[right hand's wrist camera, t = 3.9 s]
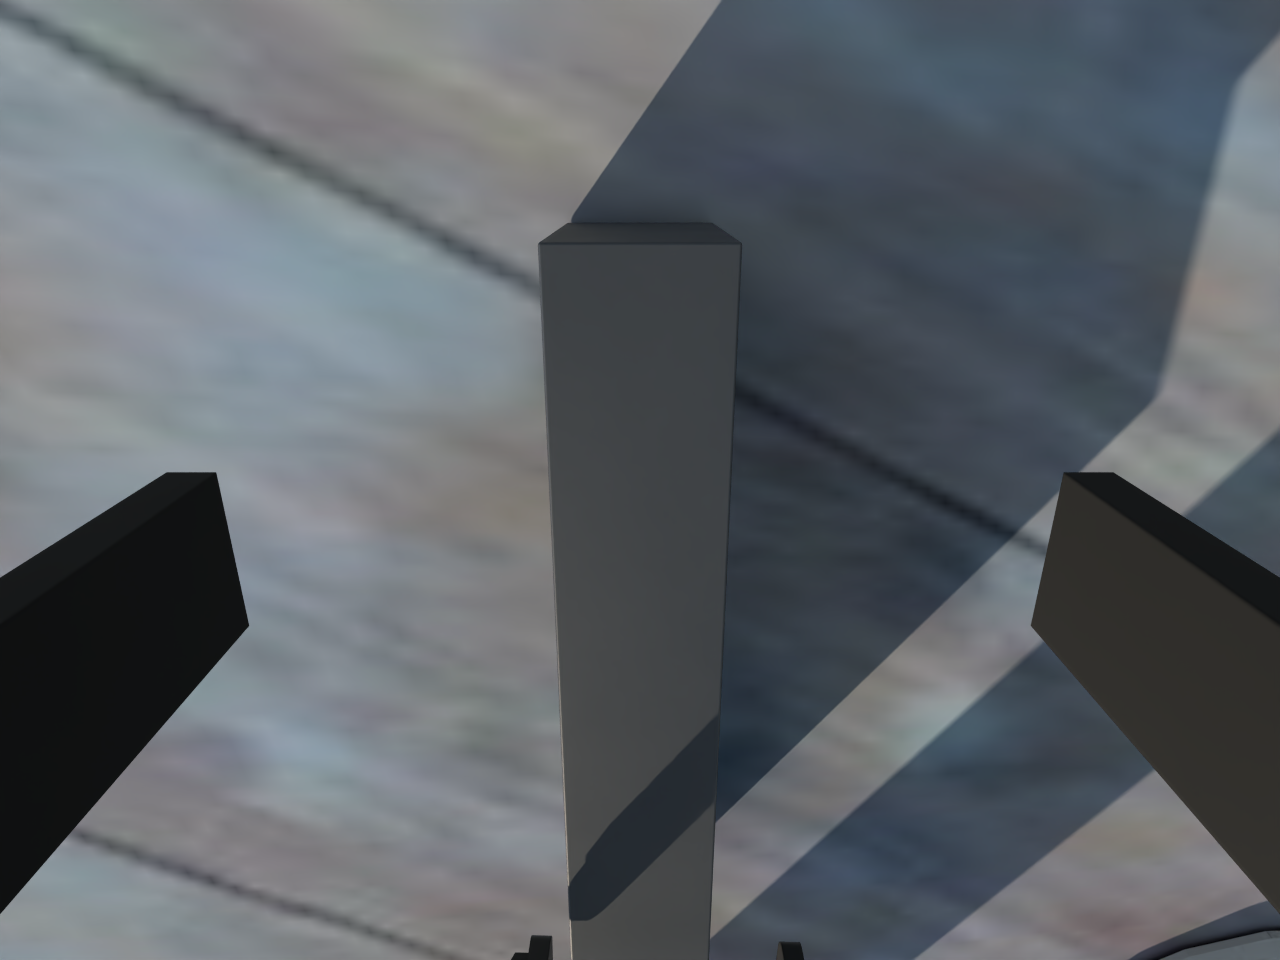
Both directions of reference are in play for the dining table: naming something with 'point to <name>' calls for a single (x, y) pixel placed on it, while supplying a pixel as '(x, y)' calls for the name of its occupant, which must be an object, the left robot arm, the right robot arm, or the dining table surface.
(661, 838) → the beam
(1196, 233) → the dining table surface
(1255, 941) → the wall clock
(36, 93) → the dining table surface
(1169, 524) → the right robot arm
